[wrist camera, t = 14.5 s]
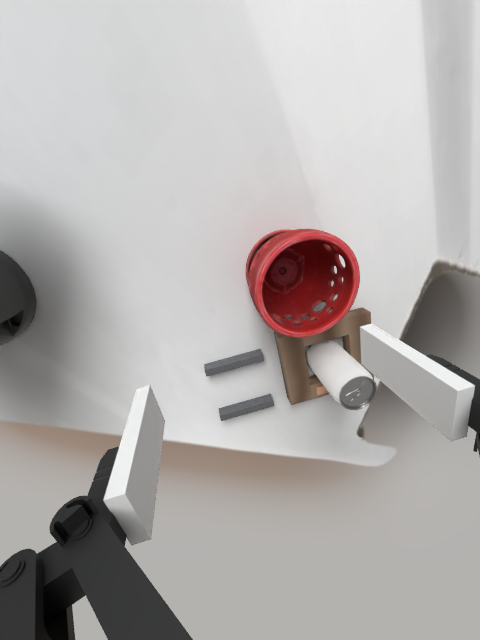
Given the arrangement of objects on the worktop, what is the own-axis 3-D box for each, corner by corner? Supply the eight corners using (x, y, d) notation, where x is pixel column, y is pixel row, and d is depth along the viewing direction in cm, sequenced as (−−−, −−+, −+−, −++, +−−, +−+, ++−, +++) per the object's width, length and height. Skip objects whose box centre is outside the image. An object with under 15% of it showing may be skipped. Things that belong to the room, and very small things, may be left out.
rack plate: (287, 396, 51) (291, 406, 49) (274, 331, 46) (278, 338, 44) (366, 373, 52) (374, 381, 50) (362, 307, 47) (371, 312, 44)
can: (345, 356, 50) (386, 395, 39) (315, 375, 51) (348, 420, 40) (329, 331, 48) (368, 365, 37) (299, 352, 48) (328, 391, 37)
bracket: (220, 413, 51) (221, 421, 49) (204, 364, 47) (204, 370, 45) (271, 398, 51) (274, 405, 49) (260, 348, 47) (262, 354, 45)
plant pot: (222, 273, 42) (231, 293, 30) (283, 207, 39) (317, 202, 28) (278, 325, 46) (303, 359, 35) (336, 268, 44) (382, 285, 33)
